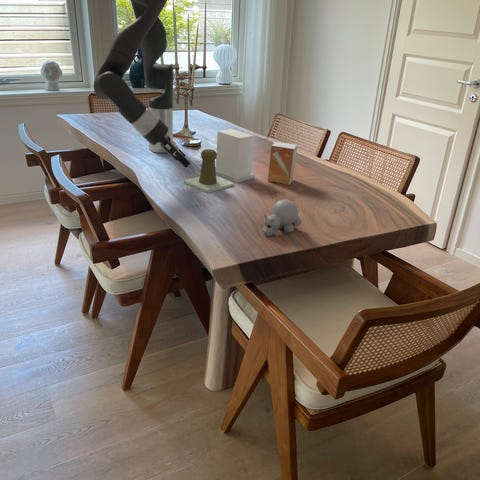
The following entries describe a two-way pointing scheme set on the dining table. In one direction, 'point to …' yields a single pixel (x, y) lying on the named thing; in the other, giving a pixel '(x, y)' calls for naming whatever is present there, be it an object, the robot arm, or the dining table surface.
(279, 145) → the small box
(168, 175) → the dining table surface
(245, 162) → the housing
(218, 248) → the dining table surface
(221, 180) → the plate
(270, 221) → the round bodied animal figurine
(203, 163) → the cork
